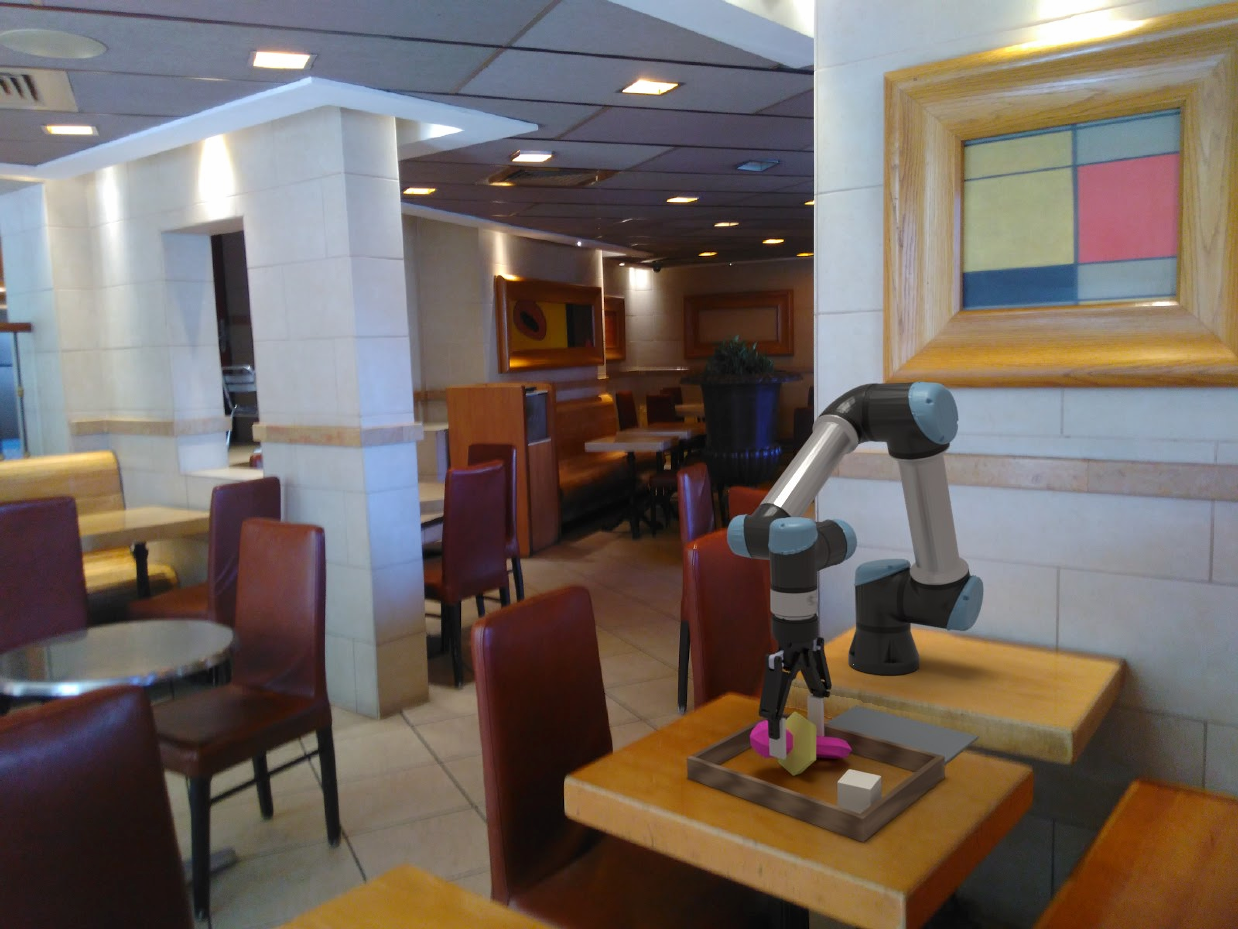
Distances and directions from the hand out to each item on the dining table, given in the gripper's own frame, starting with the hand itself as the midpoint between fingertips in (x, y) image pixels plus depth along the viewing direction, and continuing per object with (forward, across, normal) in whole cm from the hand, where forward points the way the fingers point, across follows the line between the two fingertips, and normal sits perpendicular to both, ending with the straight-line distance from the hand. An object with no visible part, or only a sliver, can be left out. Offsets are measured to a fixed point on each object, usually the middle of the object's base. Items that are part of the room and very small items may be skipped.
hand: (797, 745), depth 148 cm
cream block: (+5, -5, -14) cm, 16 cm away
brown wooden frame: (+5, 0, -3) cm, 6 cm away
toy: (+5, +2, +1) cm, 5 cm away
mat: (+5, +22, -5) cm, 23 cm away
